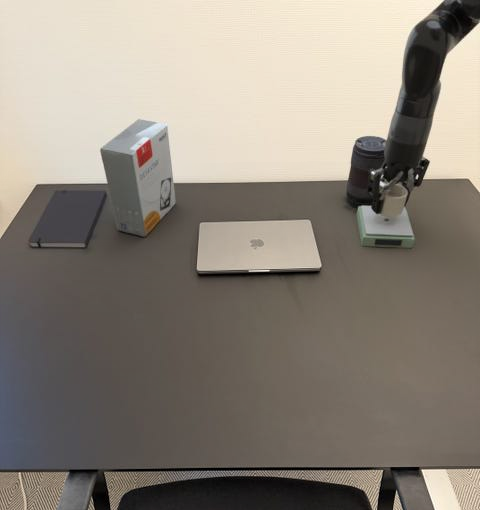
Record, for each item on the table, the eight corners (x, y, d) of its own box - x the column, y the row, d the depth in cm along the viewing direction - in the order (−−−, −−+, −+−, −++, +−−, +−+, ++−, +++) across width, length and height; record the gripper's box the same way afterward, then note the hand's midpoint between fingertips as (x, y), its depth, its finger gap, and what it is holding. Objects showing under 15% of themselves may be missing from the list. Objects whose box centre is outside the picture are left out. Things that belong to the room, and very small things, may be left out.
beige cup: (399, 203, 105) (405, 183, 101) (404, 219, 101) (410, 198, 97) (372, 202, 105) (377, 182, 102) (375, 217, 101) (380, 197, 98)
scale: (403, 216, 111) (406, 205, 109) (412, 248, 102) (416, 237, 100) (356, 214, 112) (358, 203, 109) (361, 246, 103) (364, 235, 101)
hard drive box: (146, 238, 106) (130, 155, 91) (116, 231, 108) (96, 148, 93) (177, 202, 116) (167, 122, 101) (150, 196, 118) (136, 117, 103)
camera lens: (373, 191, 118) (386, 134, 107) (380, 210, 113) (395, 151, 102) (341, 192, 118) (351, 134, 107) (347, 210, 113) (358, 151, 102)
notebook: (86, 248, 104) (107, 195, 118) (84, 242, 102) (105, 190, 117) (29, 247, 104) (57, 195, 118) (27, 242, 103) (55, 190, 117)
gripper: (390, 150, 86) (372, 225, 98) (450, 134, 90) (426, 208, 103) (366, 133, 91) (351, 207, 103) (424, 119, 95) (403, 192, 107)
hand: (388, 208), depth 103 cm, fingers closed on beige cup, 6 cm apart
